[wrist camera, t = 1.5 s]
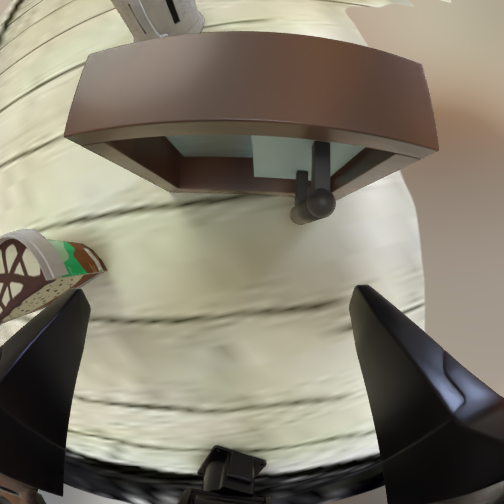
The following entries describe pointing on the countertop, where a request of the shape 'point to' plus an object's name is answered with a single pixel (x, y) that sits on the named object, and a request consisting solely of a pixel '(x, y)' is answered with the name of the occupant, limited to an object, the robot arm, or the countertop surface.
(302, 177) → the window sash
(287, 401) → the countertop surface
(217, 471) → the robot arm
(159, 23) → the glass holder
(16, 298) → the food container
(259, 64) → the window frame
